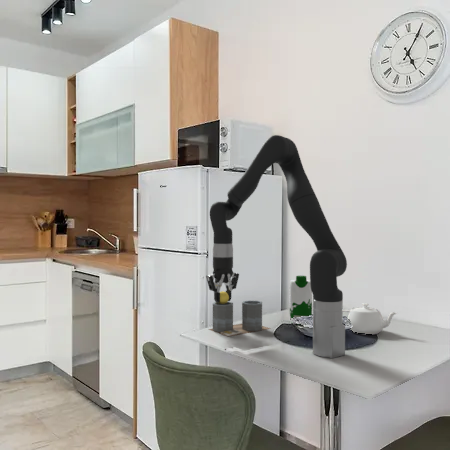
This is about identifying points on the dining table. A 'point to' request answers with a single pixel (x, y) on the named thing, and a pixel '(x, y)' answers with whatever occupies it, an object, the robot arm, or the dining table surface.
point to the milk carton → (300, 297)
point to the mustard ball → (223, 297)
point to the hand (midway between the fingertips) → (222, 301)
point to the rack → (249, 318)
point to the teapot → (367, 319)
